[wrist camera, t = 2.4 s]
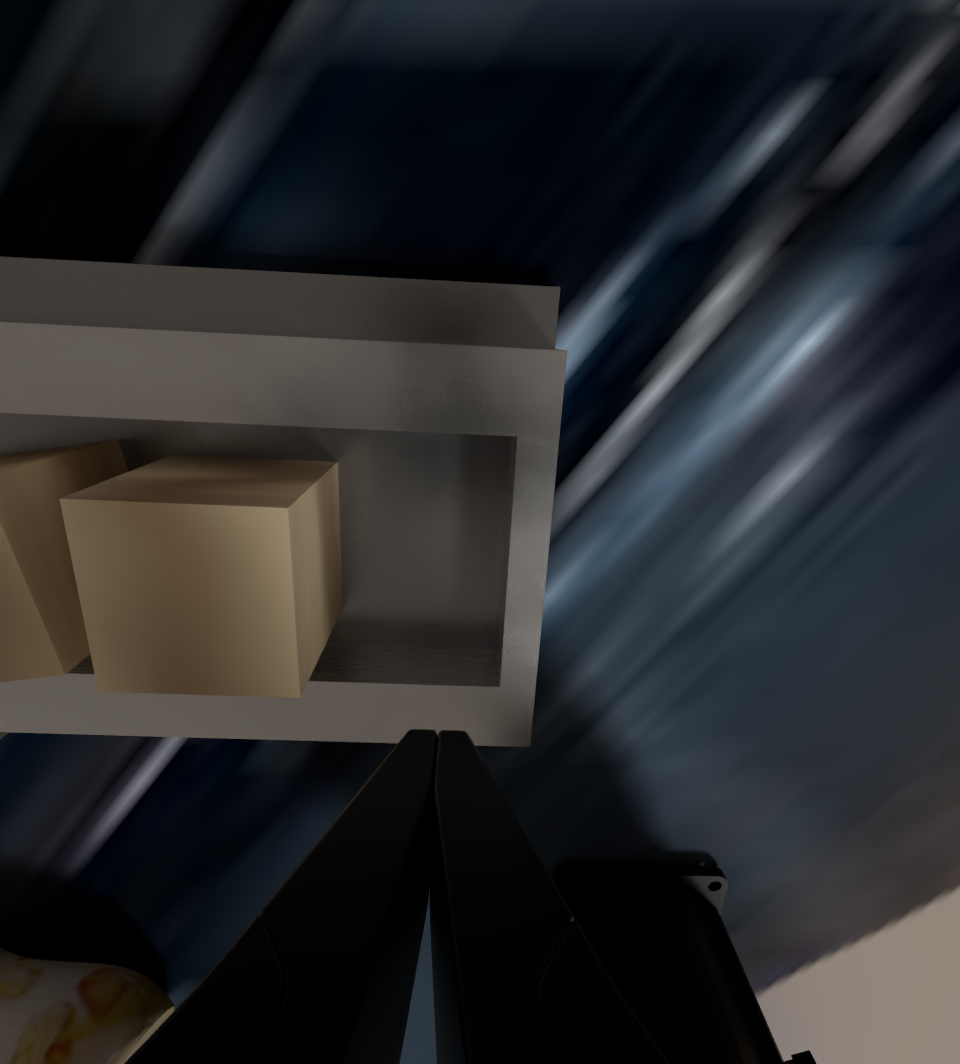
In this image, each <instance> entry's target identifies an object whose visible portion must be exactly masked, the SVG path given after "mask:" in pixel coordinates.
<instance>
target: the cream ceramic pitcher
mask: <svg viewBox="0 0 960 1064" xmlns="http://www.w3.org/2000/svg"><path fill="white" fill-rule="evenodd" d="M174 1007H175V1006H174V1003H172V1002H171V1000H170V998H169V997H168V996H167V995H166V994H165V993H164V992H163V991H162V989H161V988H160V987H158V986H157V985H156V984H155V983H154V982H153V981H151V980H150V979H148V978H147V977H146V976H144V975H142V974H141V973H139V972H137V971H134V970H131V969H129V968H125V967H121V966H116V965H111V964H103V963H85V962H68V961H52V960H41V959H32V958H27V957H23V956H20V955H17V954H14V953H11V952H9V951H7V950H5V949H3V948H1V947H0V1064H124V1063H125V1062H126V1061H127V1060H128V1059H129V1058H130V1057H131V1056H132V1055H133V1053H134V1052H135V1051H136V1050H137V1049H138V1048H139V1047H140V1046H141V1045H142V1044H143V1043H144V1042H145V1041H146V1040H147V1039H148V1038H149V1037H150V1036H151V1035H152V1034H153V1033H154V1032H155V1031H156V1030H157V1028H158V1027H159V1026H160V1025H161V1024H162V1023H163V1022H164V1021H165V1020H166V1019H167V1018H168V1017H169V1016H170V1015H171V1014H172V1013H173V1011H174Z"/></svg>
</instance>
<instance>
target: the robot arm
mask: <svg viewBox="0 0 960 1064" xmlns="http://www.w3.org/2000/svg"><path fill="white" fill-rule="evenodd" d="M567 878H568V879H567ZM429 886H430V930H431V950H432V971H433V992H434V1012H435V1033H436V1054H437V1064H816V1062H815V1060H814V1058H813V1056H812V1054H811V1052H810V1051H805V1052H801V1053H798V1054H793V1055H791V1056H792V1060H788V1061H785V1062H784V1061H783V1059H782V1057H781V1054H780V1052H779V1050H778V1048H777V1045H776V1043H775V1041H774V1038H773V1036H772V1034H771V1032H770V1029H769V1027H768V1025H767V1022H766V1020H765V1017H764V1015H763V1013H762V1011H761V1009H760V1006H759V1004H758V1001H757V999H756V997H755V994H754V992H753V990H752V988H751V985H750V983H749V981H748V978H747V976H746V974H745V971H744V969H743V967H742V965H741V962H740V960H739V958H738V955H737V953H736V951H735V948H734V946H733V944H732V942H731V939H730V937H729V935H728V932H727V930H726V928H725V925H724V923H723V921H722V918H721V912H722V908H723V905H724V901H725V897H726V893H727V889H728V882H727V879H726V877H725V875H724V873H723V871H722V870H721V869H719V868H717V867H700V866H655V865H609V864H563V865H560V866H558V867H557V868H556V869H555V872H554V877H553V879H552V878H551V876H550V874H549V872H548V871H547V869H546V867H545V865H544V864H543V862H542V860H541V859H540V857H539V855H538V853H537V852H536V850H535V848H534V847H533V845H532V843H531V841H530V840H529V838H528V836H527V834H526V833H525V831H524V829H523V828H522V826H521V824H520V822H519V821H518V819H517V817H516V815H515V814H514V812H513V810H512V809H511V807H510V805H509V803H508V802H507V800H506V798H505V796H504V795H503V793H502V791H501V790H500V788H499V786H498V784H497V783H496V781H495V779H494V777H493V776H492V774H491V772H490V771H489V769H488V767H487V765H486V764H485V762H484V760H483V758H482V757H481V755H480V753H479V752H478V750H477V748H476V746H475V745H474V743H473V741H472V739H471V738H470V736H469V734H468V733H467V732H466V731H460V730H441V731H440V732H439V733H438V735H437V732H436V731H435V730H428V729H411V730H409V731H408V732H407V733H406V734H405V735H404V736H403V738H402V739H401V740H400V741H399V743H398V744H397V745H396V746H395V747H394V749H393V750H392V751H391V752H390V754H389V755H388V756H387V757H386V758H385V760H384V761H383V762H382V763H381V765H380V766H379V767H378V768H377V769H376V771H375V772H374V773H373V774H372V776H371V777H370V778H369V779H368V780H367V782H366V783H365V784H364V785H363V787H362V788H361V789H360V790H359V791H358V793H357V794H356V795H355V796H354V798H353V799H352V800H351V801H350V802H349V804H348V805H347V806H346V807H345V809H344V810H343V811H342V812H341V814H340V815H339V816H338V817H337V818H336V820H335V821H334V822H333V823H332V825H331V826H330V827H329V828H328V829H327V831H326V832H325V833H324V834H323V836H322V837H321V838H320V839H319V840H318V842H317V843H316V844H315V845H314V847H313V848H312V849H311V850H310V851H309V853H308V854H307V855H306V856H305V858H304V859H303V860H302V861H301V862H300V864H299V865H298V866H297V867H296V869H295V870H294V871H293V872H292V873H291V875H290V876H289V877H288V878H287V880H286V881H285V882H284V883H283V884H282V886H281V887H280V888H279V889H278V891H277V892H276V893H275V894H274V895H273V897H272V898H271V899H270V900H269V902H268V903H267V904H266V905H265V906H264V908H263V909H262V915H261V914H259V915H257V916H256V917H255V918H254V919H253V921H252V922H251V923H250V924H249V925H248V927H247V928H246V929H245V930H244V932H243V933H242V934H241V935H240V937H239V938H238V939H237V940H236V942H235V943H234V944H233V945H232V946H231V947H230V949H229V950H228V951H227V952H226V953H225V954H224V956H223V957H222V958H221V959H220V960H219V961H218V963H217V964H216V965H215V966H214V967H213V968H212V970H211V971H210V972H209V973H208V974H207V975H206V977H205V978H204V979H203V980H202V981H201V982H200V984H199V985H198V986H197V987H196V988H195V989H194V990H193V991H192V992H191V993H190V995H189V996H188V997H187V998H186V999H185V1000H184V1001H183V1002H182V1003H181V1004H180V1005H179V1006H178V1007H177V1008H176V1009H175V1010H174V1011H173V1013H172V1014H171V1015H170V1016H169V1017H168V1018H167V1019H166V1020H165V1021H164V1022H163V1023H162V1024H161V1025H160V1026H159V1027H158V1028H157V1030H156V1031H155V1032H154V1033H153V1034H152V1035H151V1036H150V1037H149V1038H148V1039H147V1040H146V1041H145V1042H144V1043H143V1044H142V1045H141V1046H140V1047H139V1048H138V1049H137V1050H136V1051H135V1052H134V1053H133V1055H132V1056H131V1057H130V1058H129V1059H128V1060H127V1061H126V1062H125V1063H124V1064H399V1063H400V1058H401V1052H402V1047H403V1041H404V1035H405V1030H406V1024H407V1019H408V1013H409V1007H410V1002H411V996H412V991H413V985H414V980H415V974H416V968H417V963H418V957H419V952H420V946H421V941H422V935H423V929H424V924H425V918H426V911H427V905H428V897H429Z"/></svg>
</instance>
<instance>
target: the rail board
mask: <svg viewBox="0 0 960 1064" xmlns="http://www.w3.org/2000/svg"><path fill="white" fill-rule="evenodd" d="M559 296H560V287H550V286H531V285H513V284H495V283H476V282H458V281H440V280H421V279H403V278H385V277H366V276H348V275H329V274H311V273H293V272H274V271H256V270H238V269H219V268H201V267H183V266H164V265H146V264H128V263H109V262H91V261H73V260H54V259H36V258H17V257H0V455H3V454H11V453H18V452H26V451H34V450H41V449H49V448H56V447H64V446H71V445H79V444H87V443H94V442H102V441H109V440H117V439H118V441H119V444H120V447H121V450H122V453H123V456H124V459H125V462H126V465H127V468H128V471H132V470H135V469H137V468H140V467H142V466H145V465H148V464H150V463H153V462H155V461H158V460H160V459H163V458H166V457H168V456H171V455H190V456H213V457H236V458H258V459H281V460H304V461H327V462H338V484H339V513H340V543H341V572H342V601H343V609H342V611H341V613H340V615H339V617H338V619H337V621H336V624H335V626H334V628H333V630H332V632H331V634H330V636H329V638H328V640H327V643H326V645H325V647H324V649H323V651H322V653H321V655H320V657H319V659H318V662H317V664H316V666H315V668H314V670H313V672H312V674H311V676H310V678H309V680H308V683H307V685H306V687H305V689H304V691H303V693H302V695H301V697H300V698H284V697H251V696H219V695H187V694H154V693H122V692H98V688H97V683H96V678H95V674H94V669H93V664H92V659H91V654H90V655H88V656H87V657H86V658H85V659H83V660H82V661H81V662H80V663H79V664H77V665H76V666H75V667H74V668H73V669H71V670H70V671H69V672H68V673H67V674H65V675H57V676H49V677H41V678H32V679H24V680H16V681H8V682H0V740H1V739H2V738H3V737H4V736H5V735H6V734H8V733H9V732H19V733H54V734H89V735H124V736H160V737H195V738H230V739H265V740H300V741H335V742H370V743H399V741H400V740H401V739H402V738H403V736H404V735H405V734H406V733H407V732H408V731H409V730H411V729H428V730H435V731H436V732H437V735H438V733H439V732H440V731H441V730H460V731H466V732H467V733H468V734H469V736H470V738H471V739H472V741H473V743H474V745H475V746H510V747H530V742H531V732H532V721H533V710H534V700H535V689H536V678H537V668H538V657H539V647H540V636H541V625H542V615H543V604H544V593H545V583H546V572H547V562H548V551H549V540H550V530H551V519H552V508H553V498H554V487H555V477H556V466H557V455H558V445H559V434H560V423H561V413H562V402H563V392H564V381H565V370H566V360H567V351H565V350H556V349H555V341H556V330H557V319H558V307H559Z"/></svg>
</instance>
